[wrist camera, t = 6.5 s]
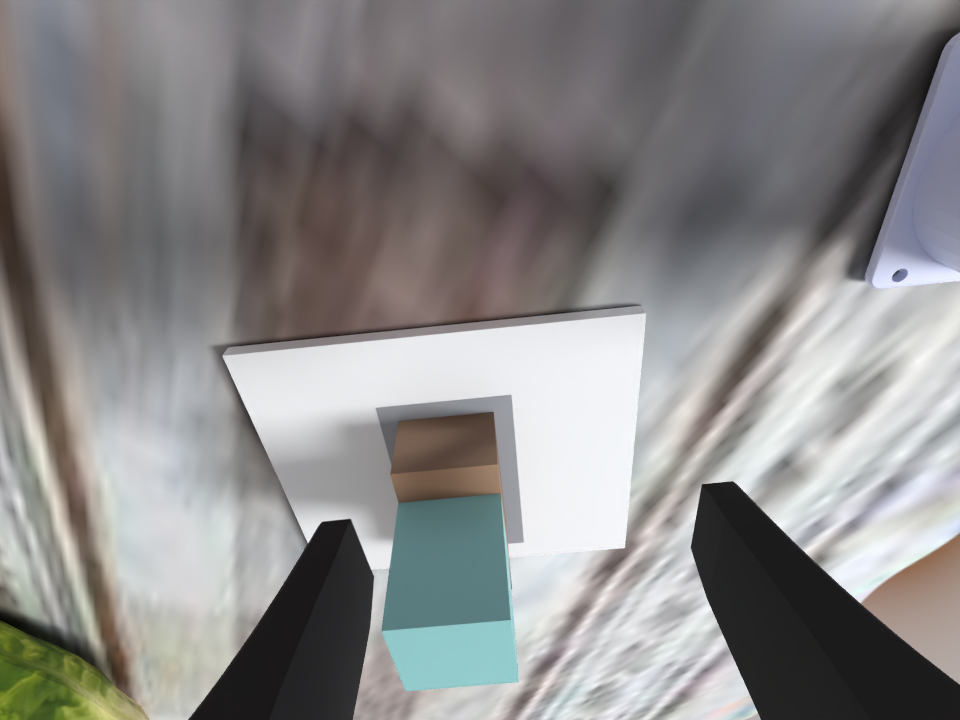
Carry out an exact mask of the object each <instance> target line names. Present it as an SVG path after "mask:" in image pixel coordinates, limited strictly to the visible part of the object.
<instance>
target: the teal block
mask: <svg viewBox="0 0 960 720" xmlns="http://www.w3.org/2000/svg"><path fill="white" fill-rule="evenodd" d="M382 634H383V636H384V639H385V641H386V644H387V646H388V649H389V651H390V654H391V656H392V659H393V661H394V664H395V666H396V669H397V671H398V674H399V676H400V679H401V681H402V684H403V686H404V689H405V691H415V690H427V689H439V688H452V687H464V686H476V685H489V684H501V683H513V682H519V676H518V664H517V652H516V640H515V628H514V616H513V604H512V593H511V581H510V569H509V557H508V549H507V541H506V532H505V524H504V516H503V508H502V500H501V493H500V494H489V495H479V496H468V497H457V498H447V499H436V500H426V501H415V502H404V503H398V507H397V515H396V523H395V531H394V538H393V546H392V554H391V561H390V569H389V577H388V585H387V592H386V600H385V608H384V615H383V623H382Z"/></svg>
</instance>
